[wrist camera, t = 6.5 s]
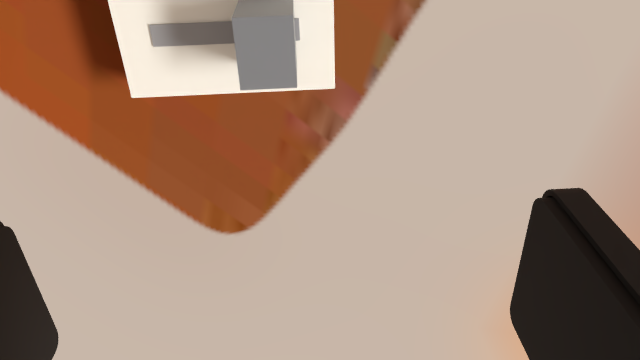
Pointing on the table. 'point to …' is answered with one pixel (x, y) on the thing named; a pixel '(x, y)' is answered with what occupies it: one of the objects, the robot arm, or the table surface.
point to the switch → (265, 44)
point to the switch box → (210, 46)
